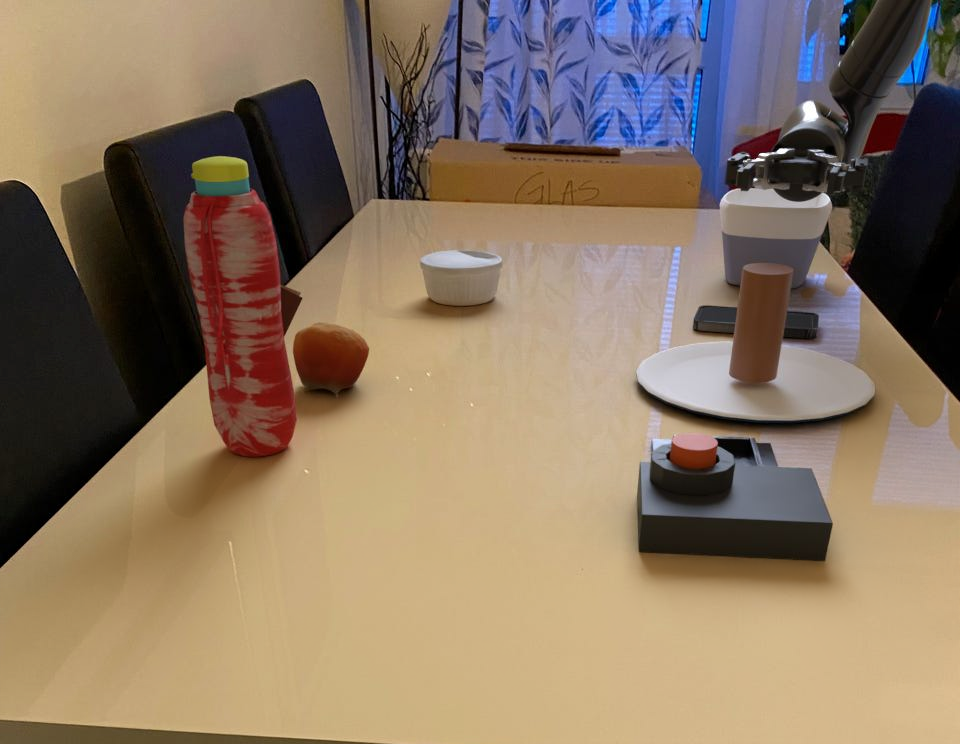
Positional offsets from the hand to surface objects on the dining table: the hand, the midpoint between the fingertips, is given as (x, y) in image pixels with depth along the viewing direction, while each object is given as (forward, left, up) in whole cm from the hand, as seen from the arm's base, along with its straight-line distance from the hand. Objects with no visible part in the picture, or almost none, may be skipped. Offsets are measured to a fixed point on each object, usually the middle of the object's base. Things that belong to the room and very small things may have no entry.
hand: (787, 182), depth 100 cm
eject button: (+33, +19, -15) cm, 41 cm away
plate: (+4, +2, -20) cm, 20 cm away
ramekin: (+6, -47, -20) cm, 51 cm away
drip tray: (+24, +14, -20) cm, 34 cm away
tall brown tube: (+4, +2, -18) cm, 19 cm away
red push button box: (+32, +22, -20) cm, 44 cm away
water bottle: (+52, -18, -20) cm, 59 cm away
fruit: (+39, -27, -20) cm, 51 cm away
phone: (-14, -12, -20) cm, 26 cm away
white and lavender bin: (-34, -26, -20) cm, 47 cm away
